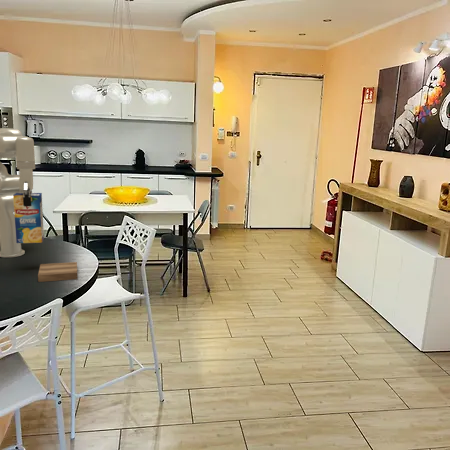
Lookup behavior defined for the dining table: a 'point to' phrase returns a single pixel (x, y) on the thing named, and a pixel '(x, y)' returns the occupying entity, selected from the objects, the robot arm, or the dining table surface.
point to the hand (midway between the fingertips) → (28, 204)
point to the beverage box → (29, 219)
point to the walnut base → (57, 271)
